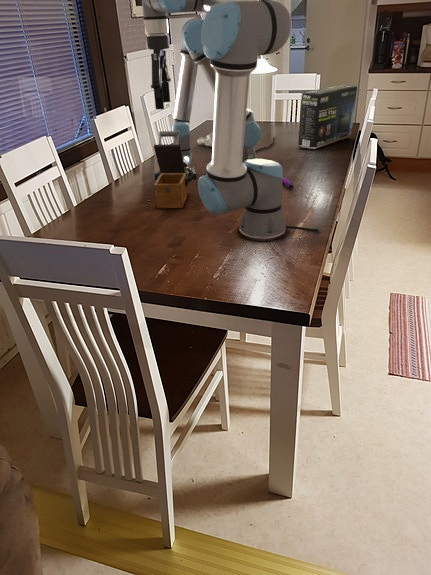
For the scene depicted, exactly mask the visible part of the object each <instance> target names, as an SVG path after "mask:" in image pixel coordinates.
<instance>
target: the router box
mask: <svg viewBox="0 0 431 575" xmlns="http://www.w3.org/2000/svg"><path fill="white" fill-rule="evenodd" d="M357 93H358V86H356V85H350V84H339V85H338V84H337V85H334V86H328V87H324V88H318V89H314V90H309V91H304V92H301V93H300V109H299V110H300V111H299V124H298V137H297V146H298V145H302V146H307V147H317V146H320V145H323V144H325V143H328V142H331V141H333V140H336V139H338V138H341V137H344V136H347V135H351V136H352V133H353V132H352V131H353V125H354V115H355V109H356V99H357ZM311 151H313V150H312V149H311Z"/></svg>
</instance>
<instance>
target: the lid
mask: <svg viewBox="0 0 431 575" xmlns="http://www.w3.org/2000/svg"><path fill="white" fill-rule="evenodd" d="M158 136H159V137H158V144H153V150H154V153H155V156H156V157H155V158H156V161H157V164H158V169H159V170H160V172H161V173H185V167H184V161H183V156H182V151H181V146H180V144H178V143H179V136H180V131H171V130H167V131H165V130H163V131H161V130H160V131H158ZM174 136H177V141H176V144H169V143H168V144H162V138H166V137H167V138H168V137H169V138H171V137H172V138H173V137H174Z"/></svg>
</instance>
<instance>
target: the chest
mask: <svg viewBox="0 0 431 575" xmlns="http://www.w3.org/2000/svg"><path fill="white" fill-rule="evenodd" d="M185 177H186V175H185V173H171V174H160V176H159V178H158V179H157V180H155V183H154V185H153V186H154V194H155V203H156V209H183V208H184V205H185V202H186V200H187V196H188V193H187V192H188V191H187V186H185Z"/></svg>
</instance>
